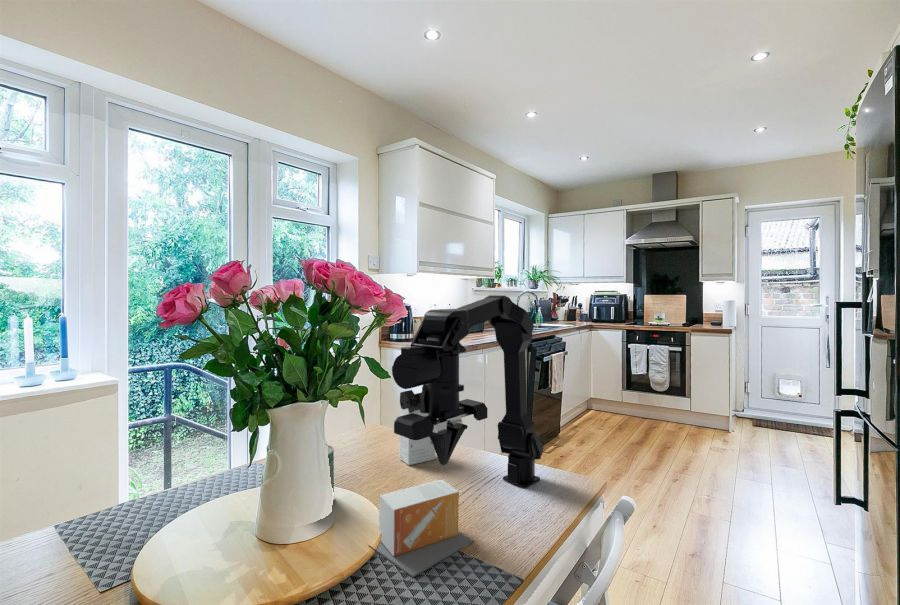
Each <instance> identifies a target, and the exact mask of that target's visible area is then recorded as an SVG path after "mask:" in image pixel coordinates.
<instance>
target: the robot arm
mask: <svg viewBox="0 0 900 605" xmlns="http://www.w3.org/2000/svg"><path fill="white" fill-rule="evenodd" d="M423 316H424V318H423V319H422V321H421V323H420V325H419V327H418V329H417V331H416V333H415V335H414V337H413V339H412V341H411V344H410V346H406V345H405V346H402V347H400V354H399V355H398V356H396V358H395V359H394V361H393V365H392V366H391V374H392V377H393V380H394V382H395V384H396V385H397V386H398V387H399V388H401V389H403V390H405V391H402V392H400V393H399V394H400V395H399V406H400V405H401V408H402V409H407V408H408V411H409V413H411V414H407V415H403V416H400V415H399V416H397V417H396V419H395V420H394V423H393V434H396V435H399V436H400V435H401V436H403V437H406V438H409V439H411V440H420V439H423V438H427V437H430V439H431V441H432V443H433V446H434V449H435V455H436V457H437V459H438V462H439V465H441V466H447V465H448V463H449V461H450V459H451V456H452V454H453V452H454V450H455V448H456V446H457V444H458V442H459V440H460V439H461V437H462V435H463V434H464V432H465V430H467V429H468V425H467V424H464V423H463V420H462V419H463V418H465V417H468V416H471V415H473V418H474V419H475V420H476V421H482V420H485V419H488V407H487V405H486V404H485V403H484V402H481V401H477V400H473V399H469V398H465V399H462V400H460V392H464V391H465V385H464V384H461V383H460V354H462V353H466V352H467V348H465V346H464V345H462V343H461V341H462V340H463V339H464V338H465V337H467V336H468V335H469V334H470V331H471V329H472V328H473V327H476V326H479V325H480V324H483V323H485V322H488V324H489V325H490V326H491V327H492V329H494V333H495V339H496V342H497V344H498V345H499V347H500V349H501V350H502V352H503V368H504V369H503V371H504V394H505V395H504V399H505V400H504V401H505V414H504V416H503V418H502V420H501V421H499V422H498V423H497V434H498V435H497V440H498V443H499V447H500V452H501V453H502V454H504V453H505V454H507V455H508V456H507V459H508V460H507V461H508V462H507V474H506V475H504V476H503V477H502V480H503V481H506V482H508V483H511V484H514V485H516V486H518V487H521V488H523V489H524V488H527V487H529V486H532V485H533V484H535V483H537V482H539V481H541V477H540V476H538V475H535V472H536V471H535V467H536V466H535V464H536V462H535V460H541V459H542V456H543V453H544V451H543V450H544V445H543V443H542V442H541V440H540V438H539V437H538V435H537V430H536V424H535V422H534V420H533V418H532V417H531V415H530V413H529V412H528V394H527V393H528V388H527V363H526V362H527V361H526V360H527V358H526V352H527V349H528V346H529V345H530V343H531V342H532V340H533V331H534V320H533V319H532V317H531V315H529V313H528V312H527V310H526V309H524V308H523V307H521V306H519V305H518V304H516V303H514V302H513V301H512V300H511V298H510V297H509V296H506V295H501V294H500V295H495V294H493V295H491V294H490V295H487V296H486V297H484V298H482V299H479V300H477V301H473V302H471V303H468V304H464V305H462V306H460V307H457V308H441V309H440V308H439V309H430V310H428V311H426V312H425V314H424V315H423ZM420 386H421V392H418V393H417V392H416V393H414V391H413V390H412V388H416V387H420ZM408 389H409V390H408ZM416 410H420V412H421V413H424V414H425V413H428V416H426V417H424V416H421V415H417V414H414V413H412V412H414V411H416Z"/></svg>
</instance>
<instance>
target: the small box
mask: <svg viewBox="0 0 900 605" xmlns="http://www.w3.org/2000/svg"><path fill="white" fill-rule="evenodd" d="M459 498H460V492H459V490H458V489H457V488H455V487H453V486H452V485H450V484H449V483H447V481H444V480H443V479H437V480H433V481H429V482H425V483H422V484H418V485H415V486H410V487H406V488H402V489H399V490H395V491H391V492H387V493H383V494H380V495H379V511H378V512H379V513H378V514H379V516H378V521H379V532H380V531H381V533H382V537H381V542H382V543H383V544H384V546H385V547H386V548H387V549H388V550H389V552H390V553H391V554H392V555H393V556H397V555H400V554H403V553H406V552H409V551H412V550H415V549H418V548H421V547H424V546H427V545H430V544H433V543H436V542H439V541H442V540H444V539H447V538H450V537H453V536H456V535H458V532H459V505H460V503H459V502H460V501H459Z"/></svg>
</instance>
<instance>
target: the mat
mask: <svg viewBox="0 0 900 605" xmlns="http://www.w3.org/2000/svg"><path fill="white" fill-rule="evenodd" d="M473 542H474V539H473V538H471V537H469V536H467V535H465V534H464V533H462V532H460V531H458V535H456V536H453V537H450V538H447V539H444V540H442V541H439V542H436V543H433V544H430V545H427V546H424V547H421V548H418V549H415V550H412V551H409V552H406V553H403V554H400V555H397V556H393V555H392V554H391V553H390V552H389V550H388V549H387V548H386V547H385V546H384V544H383V543H382V542H380V544H379V546H378V548H377V550H376V551H375V552H376V553H378V554H379V555H380V556H382V557H383V558H385V559H386V560H387V561H389V562H390V563H392V564H393V565H394V566H396V567H397V568H398V569H400V570H401V571H403V572H404V573H406V574H407V575H409V576H410V577H411V578H414V577H416V576H418V575H419V574H422V573H423V572H424V571H426V570H428V569H430V568H431V567H433V566H435V565H436V564H438V563H440V562H441V561H443V560H445V559H446V558H448V557H449V556H452V555H453V554H455V553H457V552H458V551H460V550H461V549H463V548H464V547H465V548H466V546H468V545H470V544H471V543H473Z"/></svg>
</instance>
